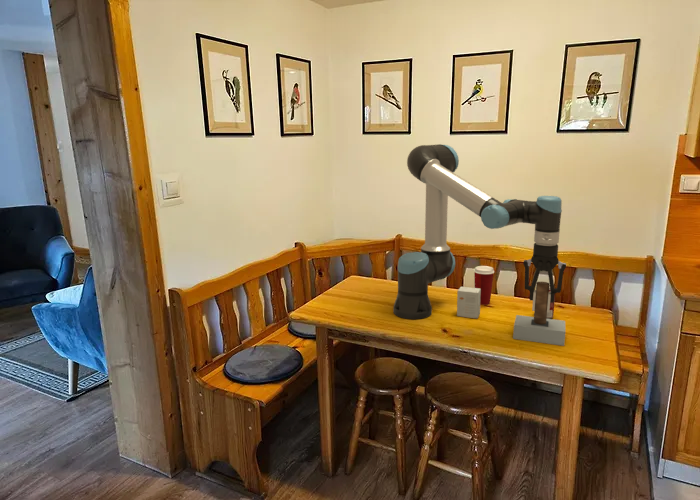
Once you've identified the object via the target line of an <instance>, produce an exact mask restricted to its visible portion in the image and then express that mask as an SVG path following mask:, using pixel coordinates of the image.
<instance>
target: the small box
mask: <svg viewBox="0 0 700 500" xmlns="http://www.w3.org/2000/svg"><path fill="white" fill-rule="evenodd" d="M480 296H481V289H480V288H475V287H471V286H470V287H468V286H460V287H459V288H458V289H457V297H456V298H457V299H456V300H457V301H456V305H457V306H456V316H457V317H462V318H471V319H478V318H479V316H480V313H481V305H480Z"/></svg>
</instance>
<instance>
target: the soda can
mask: <svg viewBox="0 0 700 500" xmlns="http://www.w3.org/2000/svg"><path fill="white" fill-rule="evenodd" d="M549 292H551V290H550V284H549ZM555 301H556V295H555V296H554V302H553V303H550V311H549V313H548V312H547V319H552V318H554V314H555Z"/></svg>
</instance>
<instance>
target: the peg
mask: <svg viewBox="0 0 700 500" xmlns="http://www.w3.org/2000/svg"><path fill="white" fill-rule="evenodd" d="M549 285H550V283H549V282H547V281H537V282H536V285H535V290H536V299H535V311H533V312H534V313H533V314H534V315H533V317H534V323H536V324H540V325H543V324H546V319H547V305H548V293H549Z"/></svg>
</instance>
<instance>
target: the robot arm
mask: <svg viewBox="0 0 700 500" xmlns="http://www.w3.org/2000/svg"><path fill="white" fill-rule="evenodd" d="M406 159H407V160H406V166H407V169H408V171H409V174H411V175H412V176H413V177H414V178H415V179H417V180H418V181H420V182H421V183H423V184H425V213H424V214H425V218H424V220H425V222H424V223H425V224H424V225H425V229H424V243H423V245H421V247H420V251H414V252H413V251H412V252H407V253H404V254H402V255H401V256H400V257H398V262H397V295H396V298H395V301H394V303H393V309H392V310H393V314H394V315H395V316H397V317H398V318H403V319H407V320H422V319H426V318H428V317H430V316H431V315H432V314H433V313H432V312H433V308H432V303H431V300H430V296H429V292H428V291H429V289H428V288H429V284H430V283H433V282H436V281H441V280H444V279H446V278H447V277H449V276H451V275H452V273H454V270H455V267H456V258H455V256H454V255H453V254H454V253H452V252H451V247H450V245H448V244H447V240H448V239H447V236H448V234H447V233H448V207H449V206H448V202H449V200H448V199H449V198H451V199H453V201H455V202H457V203H458V204H460V205H461V206H463V207H465V208H466V209H467V210H469V211H470V212H472V213H474V214H475V215H477V216H478V217H479V218H480V219H481V222H482V223H483V225H484V226H485V227H486V228H488V229H491V230H493V229H494V230H495V229H501V228H504V227H508V226H511V225H515V224H519V223H522V224H531V225H534V237H533V241H534V243H533V250H532V251H533V252H532V257H531V258H529V259H524V260H523V266H524V289H525V290H528V291H529V301H532V307H531V308H532V312H534V311H535V299H536V284H537V282H538V278H539V275H540V272H543V271H544V272H547V275H548V276H547V277H548V281H549V282H548V283H549V285H550V290H551V292H549V293H548V305H547V312H548V313H549V311H550V303H553V302H554V296H555V297H556V294H558V293H559V294H560V293H561V292H562V285H563V277H564V271H565V270H566V268H567V263H566V262H561V260H559V256H558V254H559V253H558V252H559V245H558V244H559V243H560V230H561V229H560V226H561V217H562V212H563V210H562V204H563V203H562V202H563V201H562V198H561V197H560V196H555V195H539V196H537V197H536V198H537V199H536V200H535V201H531V200H522V199H516V198H513V199H512V198H511V199H509V198H507V199H505V200H504V201H503V202H501V201H499V200H498V199H496V198H495V197H493V196H491V195H490V194H488V193H486V192H485V191H483V190H482V189H481V188H478V187H477V186H475V185H473V184H472V183H471V182H469V181H467V180H466V179H465V178H462V177H461V176H460V175H457V174H456V173H455V171H456V170H457V169H458V167H459V161H460V160H459V155H458V152H457V151H456V150H455V149H454V147H452V146H450V145H448V144H441V143H440V144H427V145H426V144H423V145H417V146H416V147H414V148H413V149H412V150H411V151H409V154H408V156H407V158H406ZM531 263H532V264H533V265H534V267H535V272H534V275H533V278H532V281H531V285H530V267H531V265H532V264H531ZM557 265H558V269H559V270H558V277H557V286H556V288H555V283H554V276H553V275H554V274H553V269H554V268H555V267H556V266H557Z"/></svg>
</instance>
